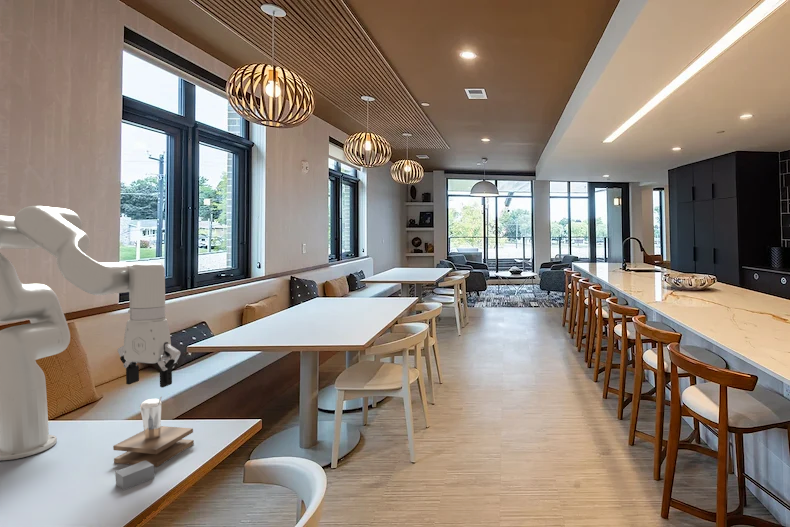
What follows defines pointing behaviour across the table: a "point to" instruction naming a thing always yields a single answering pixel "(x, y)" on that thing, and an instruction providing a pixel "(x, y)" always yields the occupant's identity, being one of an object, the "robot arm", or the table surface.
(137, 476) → the block
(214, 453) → the table surface
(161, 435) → the stand
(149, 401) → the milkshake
